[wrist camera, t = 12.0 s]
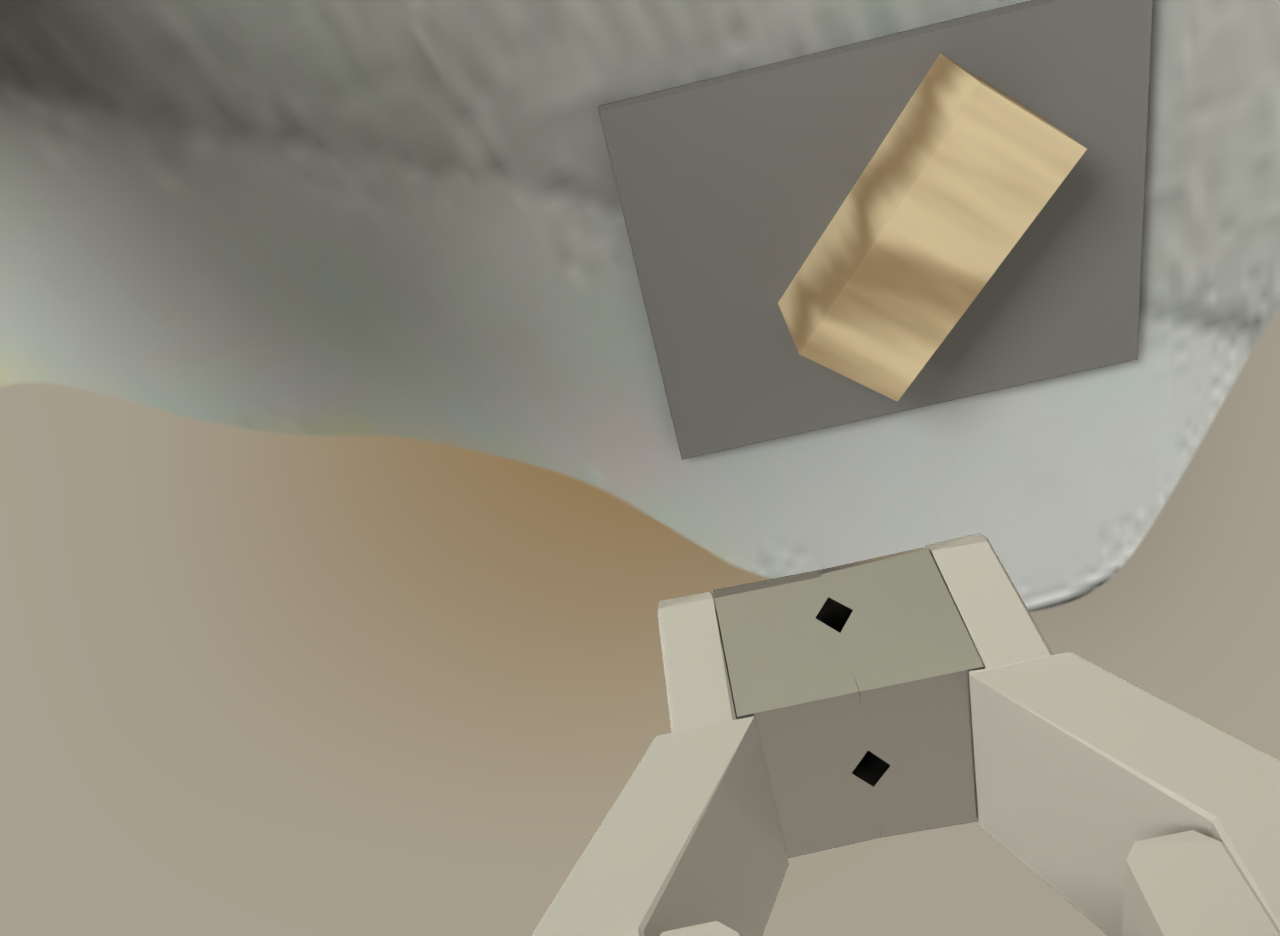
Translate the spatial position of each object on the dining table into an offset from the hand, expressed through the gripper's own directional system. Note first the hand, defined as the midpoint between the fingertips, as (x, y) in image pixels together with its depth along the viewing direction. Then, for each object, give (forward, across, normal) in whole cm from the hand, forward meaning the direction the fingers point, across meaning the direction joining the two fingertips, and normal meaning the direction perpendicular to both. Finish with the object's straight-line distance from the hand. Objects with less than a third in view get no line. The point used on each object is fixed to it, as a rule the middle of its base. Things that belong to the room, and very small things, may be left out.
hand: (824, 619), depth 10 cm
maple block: (+34, -6, +16) cm, 38 cm away
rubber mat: (+37, -9, +13) cm, 40 cm away
